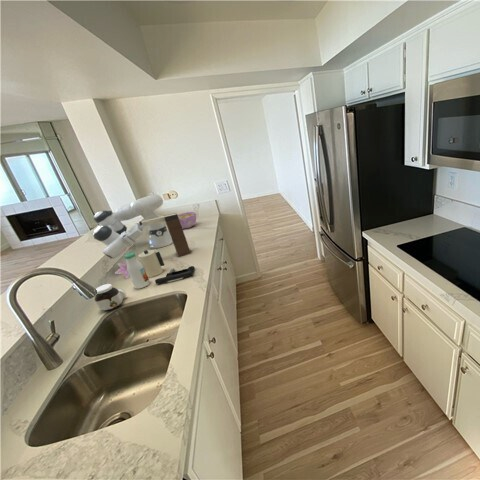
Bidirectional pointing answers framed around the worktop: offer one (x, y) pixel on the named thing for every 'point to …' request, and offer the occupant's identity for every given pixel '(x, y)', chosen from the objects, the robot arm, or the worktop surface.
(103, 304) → the spread jar
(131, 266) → the milk bottle
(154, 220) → the switch bar
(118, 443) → the worktop surface
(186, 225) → the bowl of food
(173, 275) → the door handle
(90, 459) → the worktop surface
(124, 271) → the lily
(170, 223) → the stand
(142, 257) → the kettle
